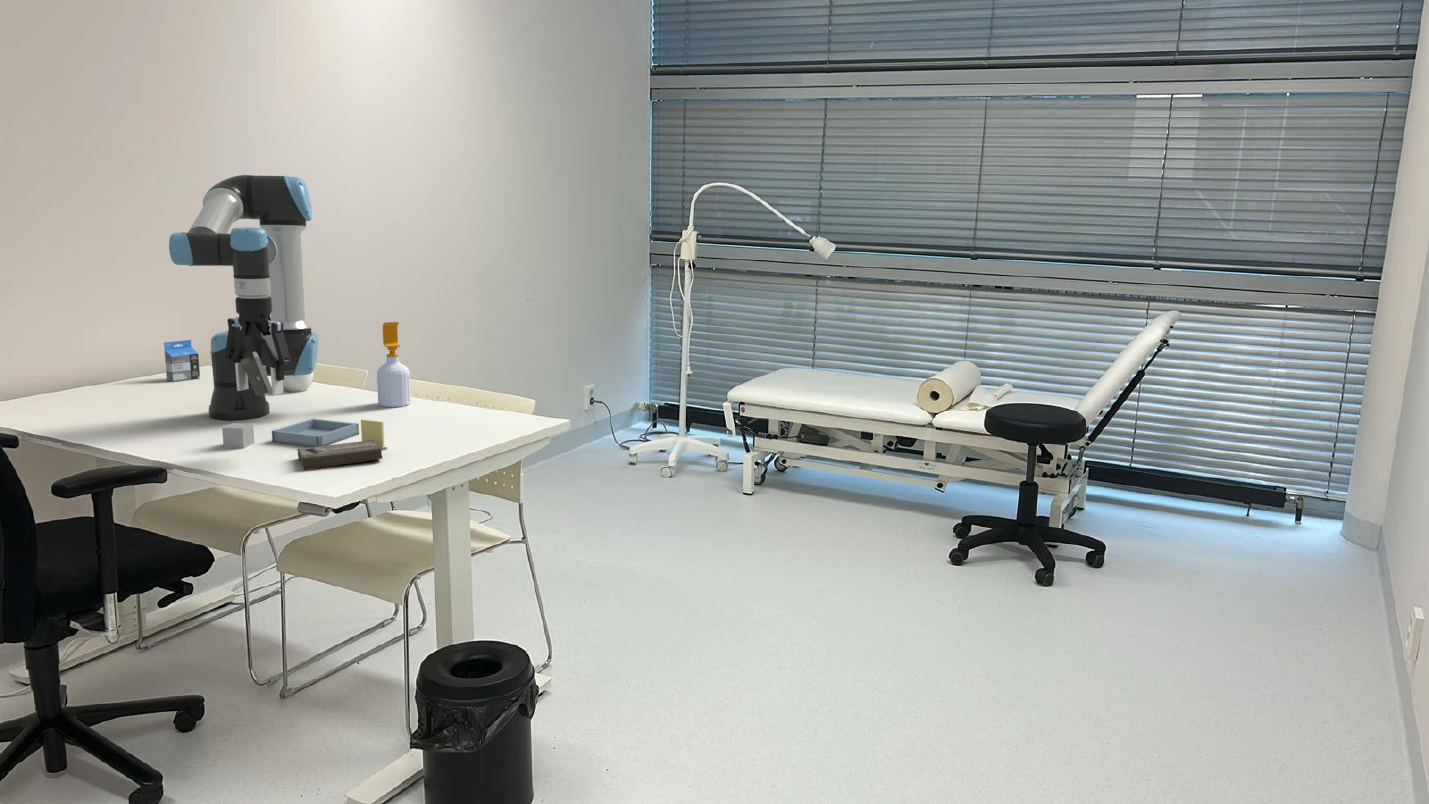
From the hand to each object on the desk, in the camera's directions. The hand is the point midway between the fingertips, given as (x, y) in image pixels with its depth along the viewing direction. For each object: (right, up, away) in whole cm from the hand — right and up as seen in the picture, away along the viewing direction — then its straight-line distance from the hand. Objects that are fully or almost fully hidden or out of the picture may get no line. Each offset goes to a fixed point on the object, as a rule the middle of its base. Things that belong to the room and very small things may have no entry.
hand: (260, 391), depth 226 cm
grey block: (-10, -13, +10) cm, 19 cm away
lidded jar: (-24, +1, +74) cm, 78 cm away
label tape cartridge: (-64, +5, +85) cm, 106 cm away
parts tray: (+6, -11, +19) cm, 23 cm away
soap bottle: (+12, -3, +59) cm, 60 cm away
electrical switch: (0, 0, 0) cm, 1 cm away
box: (+19, -17, 0) cm, 25 cm away
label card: (+23, -14, +10) cm, 29 cm away
